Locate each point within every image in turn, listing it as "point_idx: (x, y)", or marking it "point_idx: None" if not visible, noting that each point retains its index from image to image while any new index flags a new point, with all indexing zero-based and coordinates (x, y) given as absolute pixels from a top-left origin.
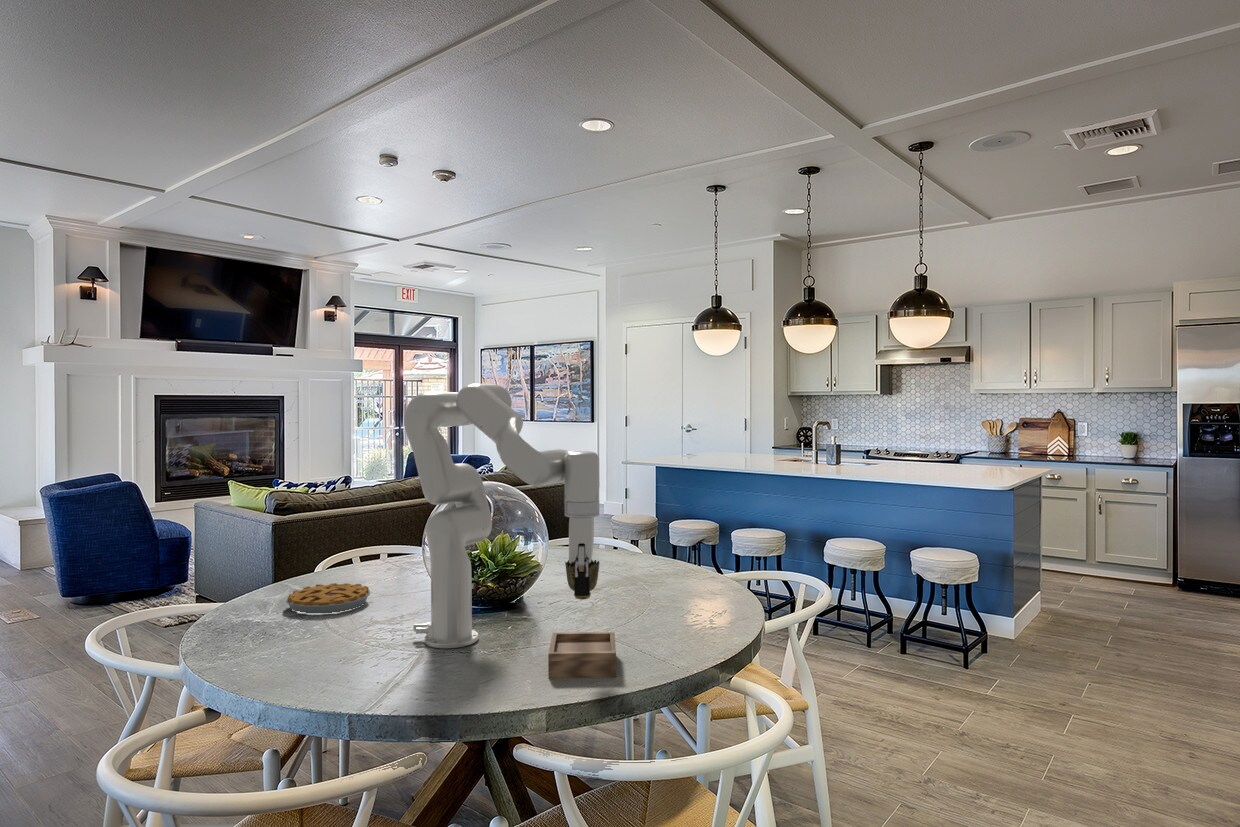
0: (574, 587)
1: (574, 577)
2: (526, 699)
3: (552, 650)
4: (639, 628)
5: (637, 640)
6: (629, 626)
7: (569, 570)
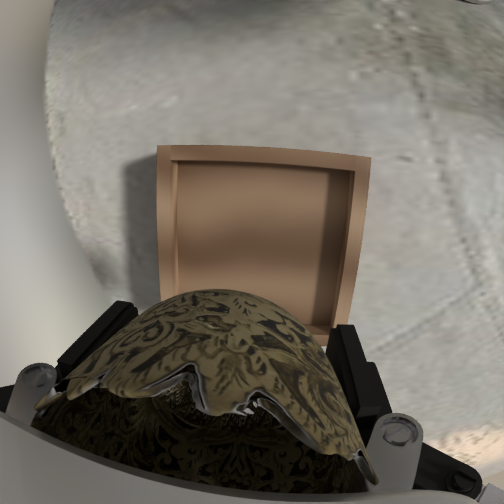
0: (95, 321)
1: (59, 359)
2: (78, 116)
3: (183, 156)
4: (471, 367)
5: (409, 364)
6: (488, 349)
7: (81, 365)
